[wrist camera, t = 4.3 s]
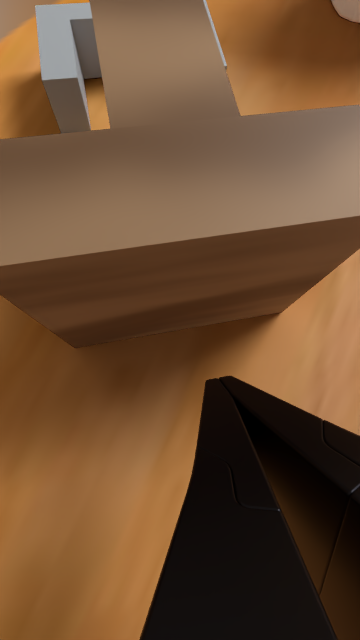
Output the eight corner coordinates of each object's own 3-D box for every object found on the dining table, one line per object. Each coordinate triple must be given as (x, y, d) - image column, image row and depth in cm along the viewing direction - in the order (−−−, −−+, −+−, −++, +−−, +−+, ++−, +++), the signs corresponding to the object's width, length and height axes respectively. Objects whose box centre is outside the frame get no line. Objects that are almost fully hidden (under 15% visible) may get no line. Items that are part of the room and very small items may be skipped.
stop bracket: (217, 118, 22) (226, 65, 18) (61, 133, 21) (41, 80, 17) (198, 55, 23) (204, -4, 20) (54, 66, 22) (35, 5, 19)
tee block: (282, 312, 18) (407, 209, 9) (74, 347, 16) (-34, 270, 7) (226, 129, 22) (274, -76, 12) (55, 146, 20) (-32, -68, 11)
